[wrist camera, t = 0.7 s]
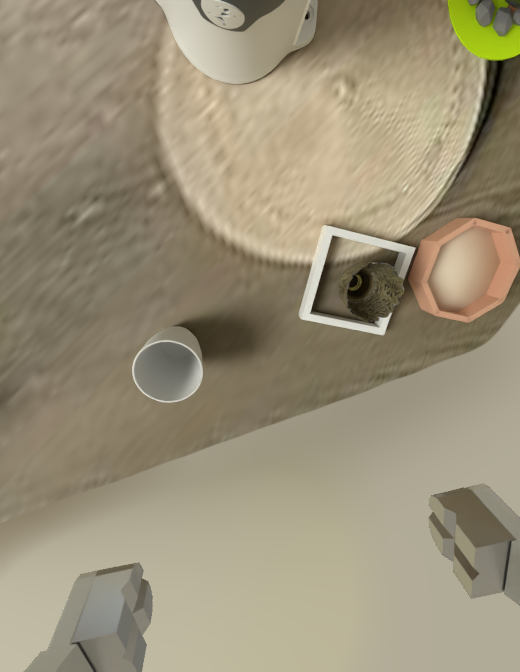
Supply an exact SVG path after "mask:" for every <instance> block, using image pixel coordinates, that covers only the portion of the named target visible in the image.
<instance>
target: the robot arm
mask: <svg viewBox="0 0 520 672" xmlns="http://www.w3.org/2000/svg"><path fill="white" fill-rule="evenodd" d="M156 1H157V3H158V4H159V5H160V6H161V7H162V9H163V11H164V13H165V15H166V17H167V20H168V22H169V25H170V28H171V31H172V33H173V35H174V38H175V40H176V42H177V44H178V45H179V47H180V49H181V50H182V52H183V53H184V55H185V56H186V57H187V58H188V60H189V61H190V62H191V63H192V64H193V65H194V66H195V67H196V68H198V69H199V70H200V71H201V72H203V73H204V74H206V75H207V76H209V77H211V78H213V79H215V80H218V81H221V82H224V83H230V84H243V83H249V82H252V81H255V80H257V79H260V78H262V77H263V76H265V75H266V74H268V73H269V72H270V71H272V70H273V69H274V68H275V67H276V66H277V65H278V64H279V63H280V61H281V60H282V59H283V58H284V57H285V56H286V55H287V54H289V53H290V52H292V51H295V50H297V49H300V48H302V47H304V46H306V45H308V44H309V43H310V42H311V41H312V39H313V37H314V34H315V30H316V20H317V6H318V0H156ZM306 14H307V15H308V17H309V19H308V20H305V16H306ZM429 507H430V508H431V509H432V511H433V513H432V514H431V515H430V516H429V528H430V532H431V535H432V538H433V540H434V542H435V544H436V546H437V547H438V549H439V551H440V552H441V554H442V555H443V556H445V557H446V558H448V559H449V560H451V561H453V572H454V574H455V575H456V577H457V578H458V580H459V581H460V583H461V584H462V586H463V587H464V589H465V590H466V592H467V593H468V595H469V596H470V598H477V597H482V596H486V595H491V594H496V593H501V592H504V594H505V595H506V596H508V597H509V598H510V599H512V600H513V601H514V602H516V603H517V604H518V605H520V517H519V516H518V515H517V514H516V513H515V512H514V511H513V510H512V509H511V508H510V507H509V506H508V505H507V504H506V503H505V502H504V501H503V500H502V499H501V498H500V497H499V496H498V495H497V494H496V493H495V492H494V491H493V490H492V489H491V488H490V487H489V486H487V485H485V484H479V485H475V486H471V487H467V488H460V489H456V490H452V491H448V492H444V493H440V494H435V495H431V497H430V498H429ZM142 575H143V569H142V567H141V565H140V563H134V564H129V565H124V566H118V567H113V568H109V569H103V570H98V571H93V572H89V573H84V574H80V576H79V577H78V578H77V580H76V581H75V582H74V585H73V587H72V590H71V592H70V595H69V597H68V600H67V602H66V605H65V607H64V610H63V612H62V615H61V617H60V620H59V622H58V625H57V627H56V629H55V632H54V635H53V637H52V640H51V642H50V644H49V647H48V649H47V650H46V651H42V652H40V653H39V655H38V656H37V657H36V658H35V659H34V660H33V662H32V663H31V664H30V665H29V667H28V668H27V669H26V670H25V671H24V672H142V668H143V662H144V657H145V651H146V645H147V644H146V642H145V640H144V638H143V636H142V635H143V634H144V632H145V631H146V629H147V628H148V626H149V625H150V622H151V616H152V591H151V587H150V585H149V582H148V581H146V580H144V579H142Z"/></svg>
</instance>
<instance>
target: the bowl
mask: <svg viewBox="0 0 520 672" xmlns="http://www.w3.org/2000/svg"><path fill="white" fill-rule="evenodd" d="M519 268H520V257H519V253H518V250H517V247H516V243H515V240H514V237H513V233H512V230H511V228H510V227H506V226H502V225H499V224H495V223H492V222H488V221H485V220H481V219H477V218H456V219H455V220H453V221H451V222H450V223H448V224H447V225H445V226H443V227H442V228H440V229H439V230H437V231H435V232H434V233H432V234H431V235H429V236H427V237H426V238H424V239H423V240H422V241H421V244H420V246H419V249H418V252H417V255H416V257H415V260H414V263H413V265H412V268H411V271H410V274H409V276H408V280H409V283H410V285H411V287H412V289H413V292H414V294H415V296H416V298H417V300H418V303H419V305H420V307H421V309H422V310H424V311H426V312H429V313H431V314H433V315H435V316H440V317H444V318H449V319H454V320H458V321H463V322H468V323H469V322H471V321H472V320H474V319H476V318H477V317H479V316H481V315H482V314H484V313H486V312H488V311H489V310H491V309H493V308H494V307H496V306H498V305H499V304H501V303H503V302H504V300H505V298H506V296H507V294H508V291H509V289H510V287H511V285H512V283H513V281H514V279H515V277H516V274H517V272H518V270H519Z"/></svg>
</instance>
